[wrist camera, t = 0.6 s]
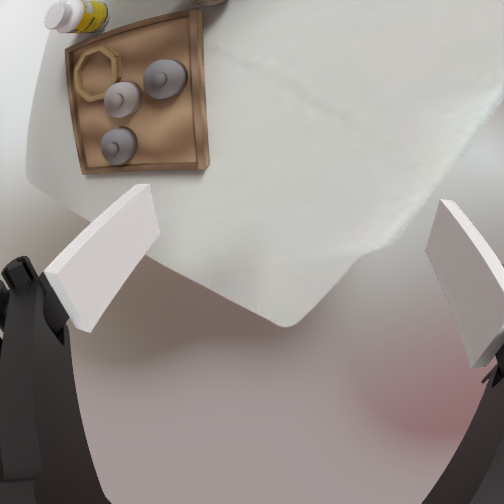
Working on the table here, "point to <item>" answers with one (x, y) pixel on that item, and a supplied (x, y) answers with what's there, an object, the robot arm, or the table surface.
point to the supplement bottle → (77, 16)
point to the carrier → (140, 96)
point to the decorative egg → (207, 2)
